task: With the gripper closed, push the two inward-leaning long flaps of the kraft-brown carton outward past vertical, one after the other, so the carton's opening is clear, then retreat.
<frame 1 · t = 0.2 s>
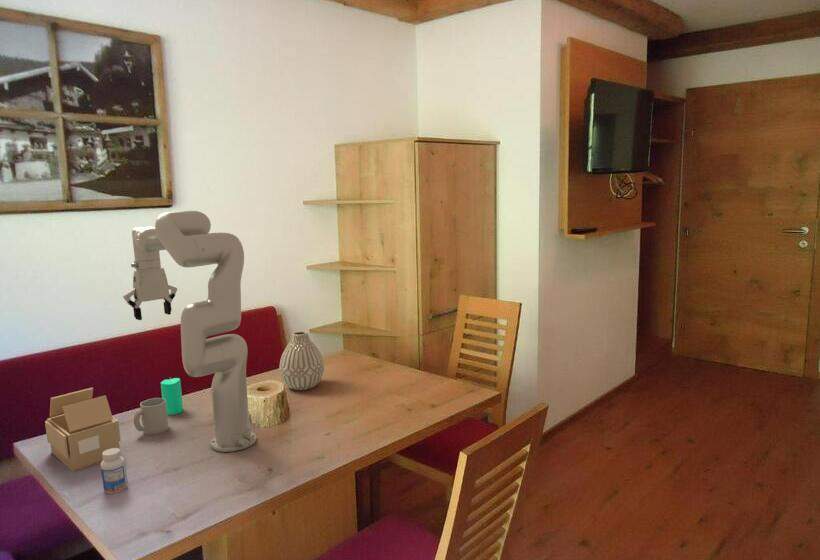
hand: (153, 316, 199), 31 cm above the table, fingers open, 9 cm apart
cup: (151, 432, 184), on the table
long flap near: (88, 413, 163), point 14 cm above the table, hinge at -30.0°
carton: (85, 454, 169), on the table
vase: (303, 387, 220), on the table
candle: (173, 411, 200), on the table
pill bottle: (116, 489, 150), on the table
long flap far: (71, 402, 172), point 14 cm above the table, hinge at -30.0°
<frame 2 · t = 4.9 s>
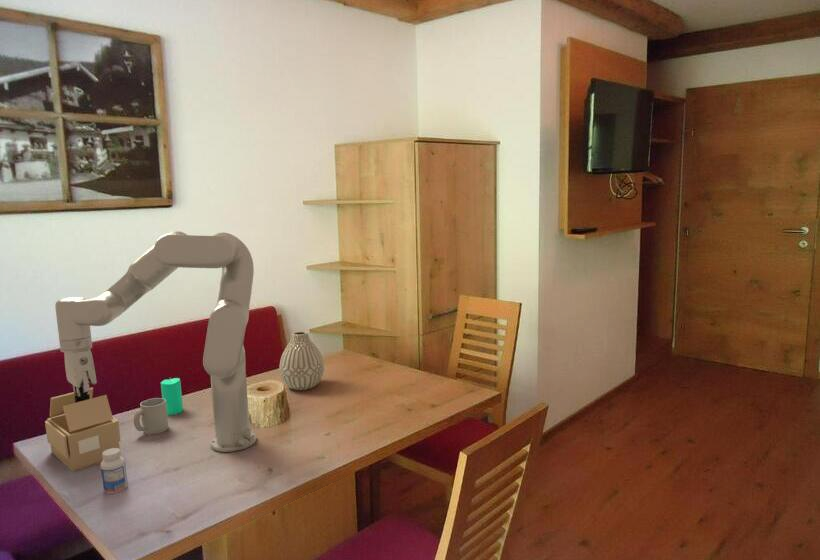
hand: (83, 408, 165), 14 cm above the table, fingers closed
long flap near: (88, 412, 163), point 14 cm above the table, hinge at -25.9°, touching gripper
everything else where it was.
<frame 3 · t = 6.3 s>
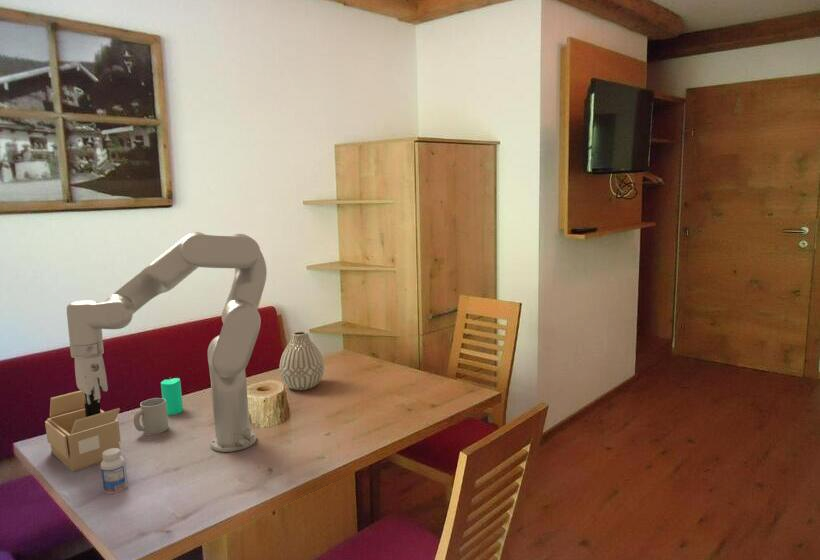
hand: (93, 416, 158), 14 cm above the table, fingers closed
long flap near: (95, 420, 159), point 13 cm above the table, hinge at 47.4°, touching gripper
everything else where it was.
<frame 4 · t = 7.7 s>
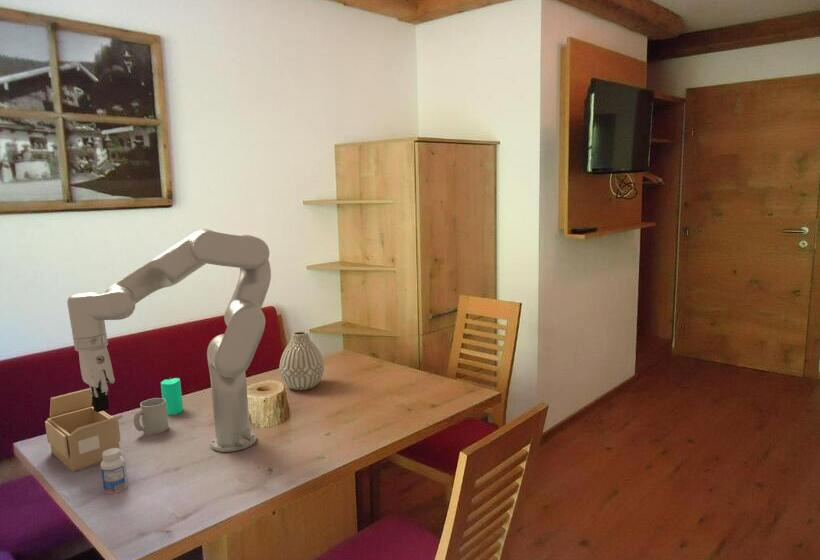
hand: (101, 409, 157), 17 cm above the table, fingers closed
long flap near: (97, 424, 159), point 12 cm above the table, hinge at 62.8°
everything else where it was.
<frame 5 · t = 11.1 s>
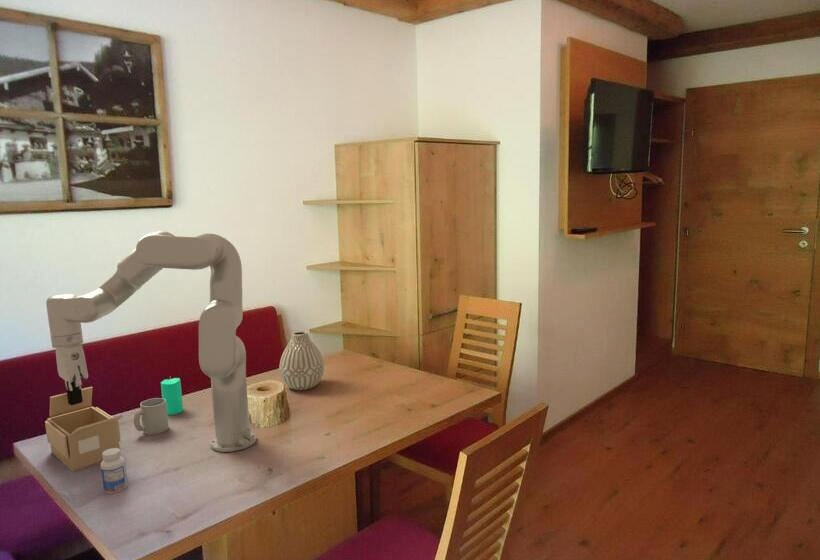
hand: (75, 403, 169), 14 cm above the table, fingers closed
long flap far: (71, 401, 172), point 14 cm above the table, hinge at -26.5°, touching gripper
everything else where it was.
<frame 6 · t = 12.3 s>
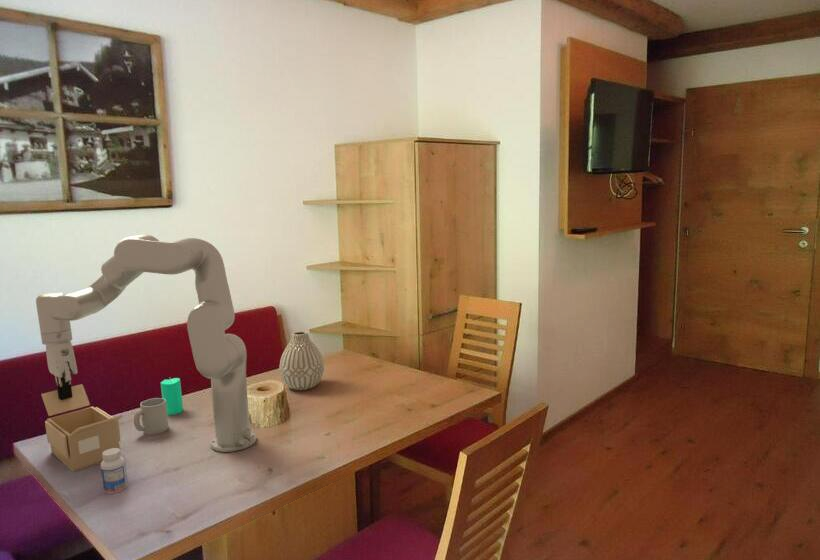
hand: (65, 398, 175), 14 cm above the table, fingers closed
long flap far: (66, 399, 175), point 13 cm above the table, hinge at 41.0°, touching gripper
everything else where it was.
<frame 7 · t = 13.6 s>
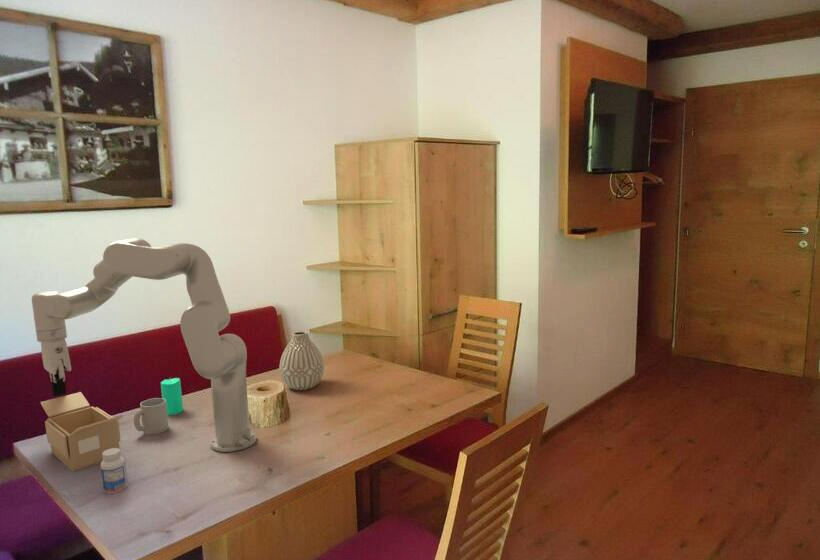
hand: (59, 394, 179), 14 cm above the table, fingers closed
long flap far: (65, 404, 176), point 12 cm above the table, hinge at 68.3°
everything else where it was.
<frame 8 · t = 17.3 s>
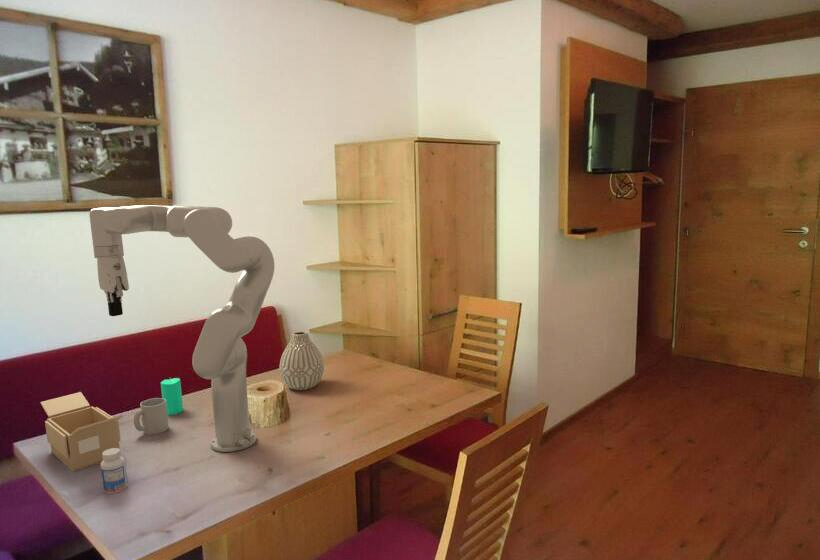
hand: (116, 315, 174), 37 cm above the table, fingers closed
nothing on the table moved.
at the end: long flap near at +63° (first picture: -30°); long flap far at +68° (first picture: -30°) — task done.
